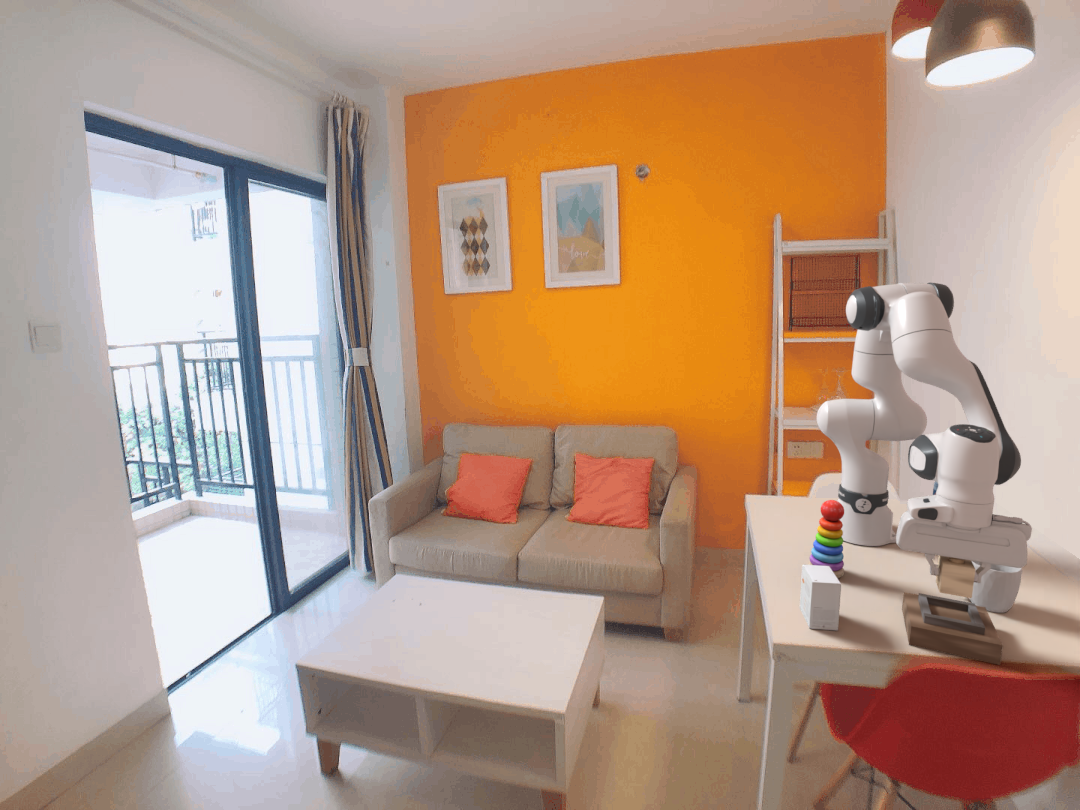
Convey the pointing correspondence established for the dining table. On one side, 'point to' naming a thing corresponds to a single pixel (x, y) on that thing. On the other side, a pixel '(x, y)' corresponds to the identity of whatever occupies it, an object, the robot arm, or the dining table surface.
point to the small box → (820, 597)
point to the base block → (951, 627)
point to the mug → (997, 588)
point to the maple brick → (955, 576)
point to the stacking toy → (829, 538)
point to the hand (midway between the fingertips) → (954, 577)
